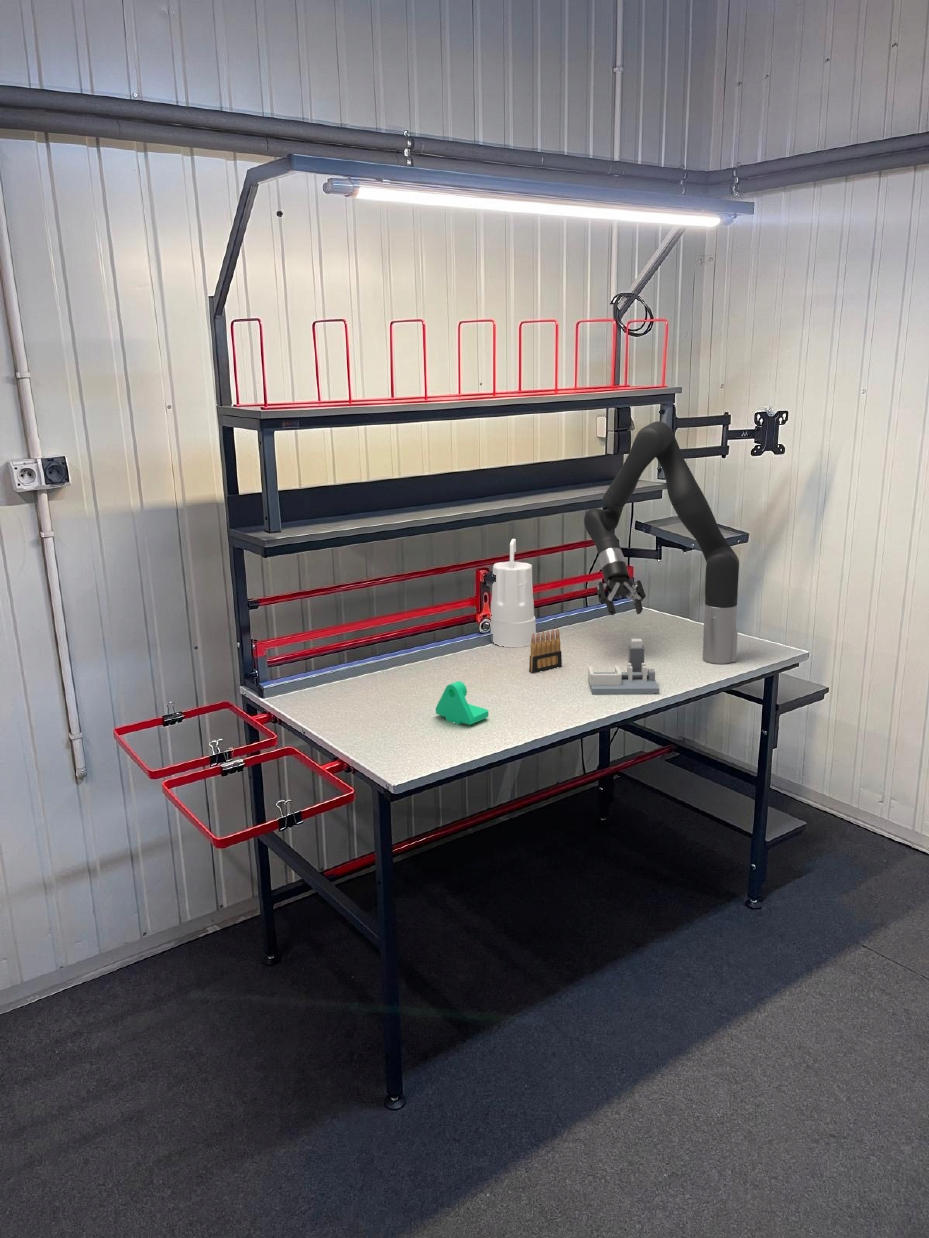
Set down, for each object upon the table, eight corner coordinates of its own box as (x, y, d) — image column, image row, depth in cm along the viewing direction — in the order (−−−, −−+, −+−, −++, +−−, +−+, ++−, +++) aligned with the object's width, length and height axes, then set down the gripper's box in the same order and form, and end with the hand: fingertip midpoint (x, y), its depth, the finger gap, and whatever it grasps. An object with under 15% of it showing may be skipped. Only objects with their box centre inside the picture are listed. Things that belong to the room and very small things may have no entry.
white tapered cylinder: (488, 634, 304) (487, 537, 295) (533, 633, 305) (532, 535, 296) (492, 648, 289) (490, 545, 281) (538, 646, 290) (538, 544, 281)
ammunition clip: (532, 673, 264) (532, 634, 261) (529, 671, 265) (528, 632, 262) (562, 666, 269) (562, 628, 266) (558, 665, 271) (558, 626, 268)
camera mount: (490, 720, 230) (489, 681, 227) (469, 728, 224) (468, 689, 222) (456, 709, 238) (455, 672, 235) (435, 717, 232) (434, 679, 230)
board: (651, 677, 258) (652, 658, 256) (658, 694, 244) (659, 674, 243) (587, 677, 259) (587, 659, 257) (591, 694, 245) (591, 674, 244)
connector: (641, 670, 263) (642, 638, 261) (643, 675, 260) (644, 641, 257) (628, 670, 264) (628, 638, 261) (629, 675, 260) (630, 642, 257)
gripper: (596, 560, 268) (609, 608, 261) (639, 559, 272) (653, 606, 265) (587, 573, 275) (600, 620, 268) (630, 571, 279) (643, 618, 272)
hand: (626, 613), depth 267 cm, fingers open, 8 cm apart
